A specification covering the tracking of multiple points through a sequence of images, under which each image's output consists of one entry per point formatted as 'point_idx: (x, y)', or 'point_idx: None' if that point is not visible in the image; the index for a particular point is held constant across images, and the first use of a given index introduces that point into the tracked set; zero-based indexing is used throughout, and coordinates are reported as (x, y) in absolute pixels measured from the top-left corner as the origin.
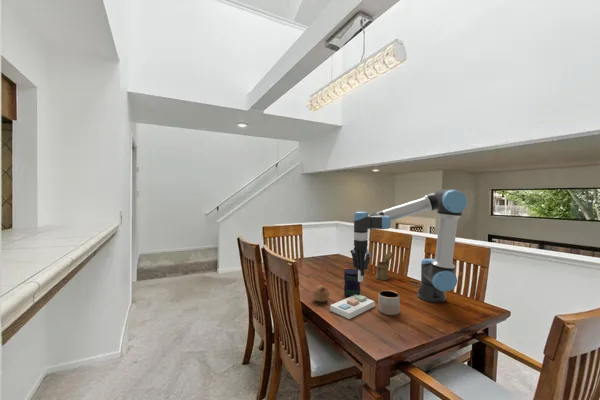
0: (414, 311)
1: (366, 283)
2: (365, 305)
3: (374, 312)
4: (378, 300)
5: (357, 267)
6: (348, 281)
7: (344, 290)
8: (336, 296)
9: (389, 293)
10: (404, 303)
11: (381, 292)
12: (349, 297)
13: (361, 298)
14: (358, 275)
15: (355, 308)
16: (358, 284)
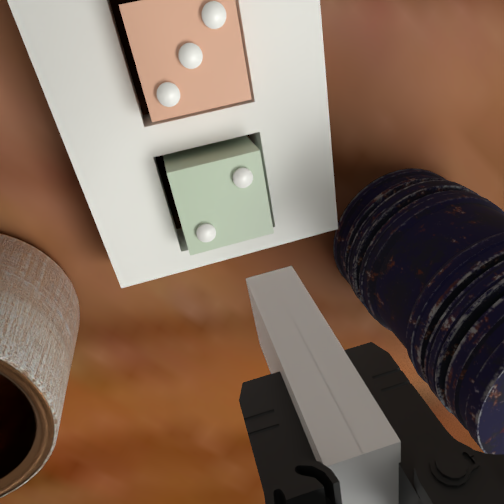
0: None
1: (455, 421)
2: (65, 143)
3: (9, 185)
4: (10, 293)
5: (465, 501)
6: (488, 244)
7: (463, 186)
8: (472, 94)
9: (17, 449)
10: (72, 462)
11: (25, 393)
12: (323, 125)
13: (187, 188)
14: (321, 339)
15: None
16: (394, 321)
